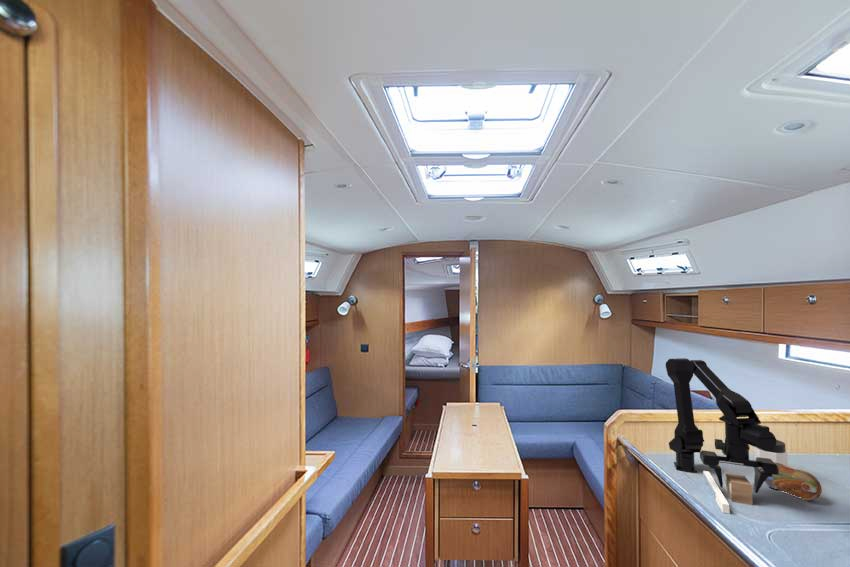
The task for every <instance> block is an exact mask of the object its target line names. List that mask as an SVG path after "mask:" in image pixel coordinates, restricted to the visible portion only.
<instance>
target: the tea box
mask: <svg viewBox="0 0 850 567" xmlns="http://www.w3.org/2000/svg"><path fill="white" fill-rule="evenodd" d="M724 475H725V476H724V484H725V492H726V494H727V495H728V497H729V499H730V501H731V502H732V503H737V504H743V505H744V504H745V505H749V506H750V505H751V506H754V505H753V485H752V483H751V482H750V481H749V479H748V478H747V477H746V476H745V475H742V474H736V473H728V472H725V474H724Z"/></svg>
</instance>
